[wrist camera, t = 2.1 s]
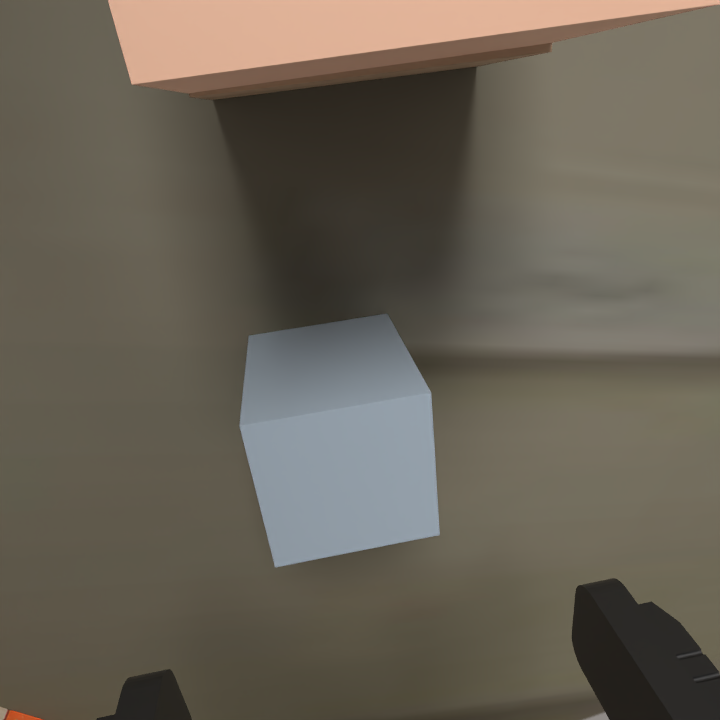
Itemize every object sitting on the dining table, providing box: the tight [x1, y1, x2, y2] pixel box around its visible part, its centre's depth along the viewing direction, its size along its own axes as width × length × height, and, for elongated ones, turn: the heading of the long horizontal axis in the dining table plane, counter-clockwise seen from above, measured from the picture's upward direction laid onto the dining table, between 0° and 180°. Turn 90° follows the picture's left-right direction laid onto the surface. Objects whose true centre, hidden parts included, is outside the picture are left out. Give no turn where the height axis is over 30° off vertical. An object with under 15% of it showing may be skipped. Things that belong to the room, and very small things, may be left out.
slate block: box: [240, 314, 440, 567], centre depth 17 cm, size 5×5×6 cm
